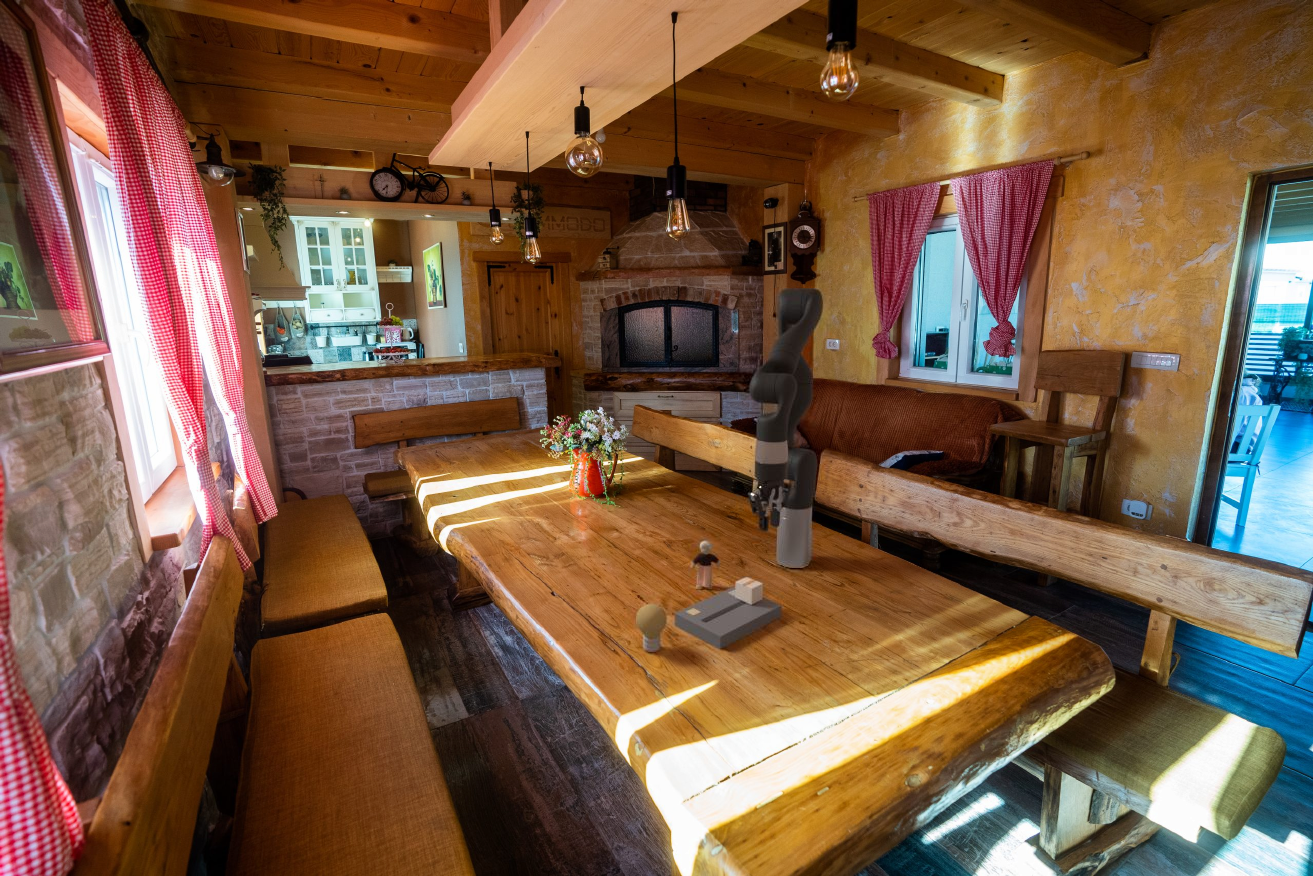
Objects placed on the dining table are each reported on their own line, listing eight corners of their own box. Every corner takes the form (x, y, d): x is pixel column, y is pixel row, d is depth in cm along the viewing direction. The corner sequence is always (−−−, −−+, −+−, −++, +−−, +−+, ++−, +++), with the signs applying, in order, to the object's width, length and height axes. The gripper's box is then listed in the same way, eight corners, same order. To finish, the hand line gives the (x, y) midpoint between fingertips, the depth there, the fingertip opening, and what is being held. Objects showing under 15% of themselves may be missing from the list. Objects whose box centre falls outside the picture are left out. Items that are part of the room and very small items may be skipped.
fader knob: (746, 592, 152) (746, 576, 151) (762, 599, 149) (763, 583, 148) (735, 597, 150) (735, 581, 149) (751, 604, 146) (751, 588, 145)
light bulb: (649, 638, 138) (649, 596, 136) (672, 647, 134) (672, 604, 132) (630, 650, 133) (629, 606, 131) (653, 660, 129) (653, 616, 127)
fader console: (736, 596, 157) (736, 585, 156) (781, 616, 147) (781, 604, 146) (674, 625, 144) (674, 612, 143) (720, 649, 133) (720, 636, 133)
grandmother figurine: (694, 592, 160) (694, 545, 157) (689, 585, 164) (689, 539, 161) (722, 588, 162) (723, 541, 159) (717, 582, 166) (717, 536, 163)
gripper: (777, 450, 154) (775, 517, 158) (738, 460, 145) (737, 531, 148) (802, 456, 149) (799, 525, 152) (764, 466, 139) (762, 540, 143)
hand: (769, 527), depth 150 cm, fingers open, 3 cm apart
